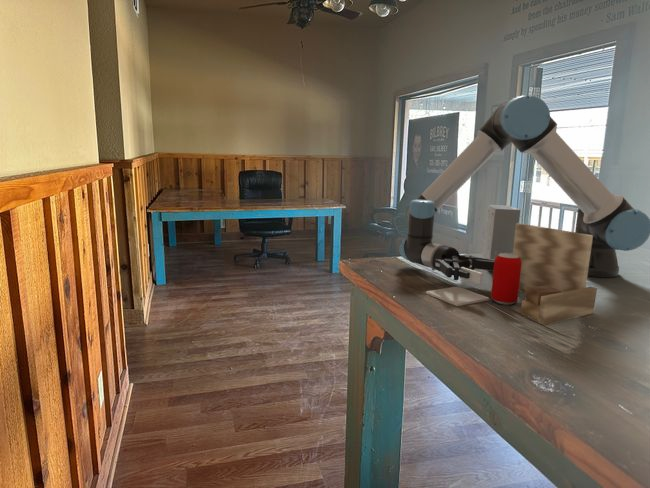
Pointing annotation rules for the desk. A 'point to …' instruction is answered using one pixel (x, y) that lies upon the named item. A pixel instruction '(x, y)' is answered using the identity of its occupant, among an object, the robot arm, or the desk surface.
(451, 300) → the felt pad
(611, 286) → the desk surface
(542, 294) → the offcut upper
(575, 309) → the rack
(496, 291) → the beverage can
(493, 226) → the hard drive box
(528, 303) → the offcut lower
